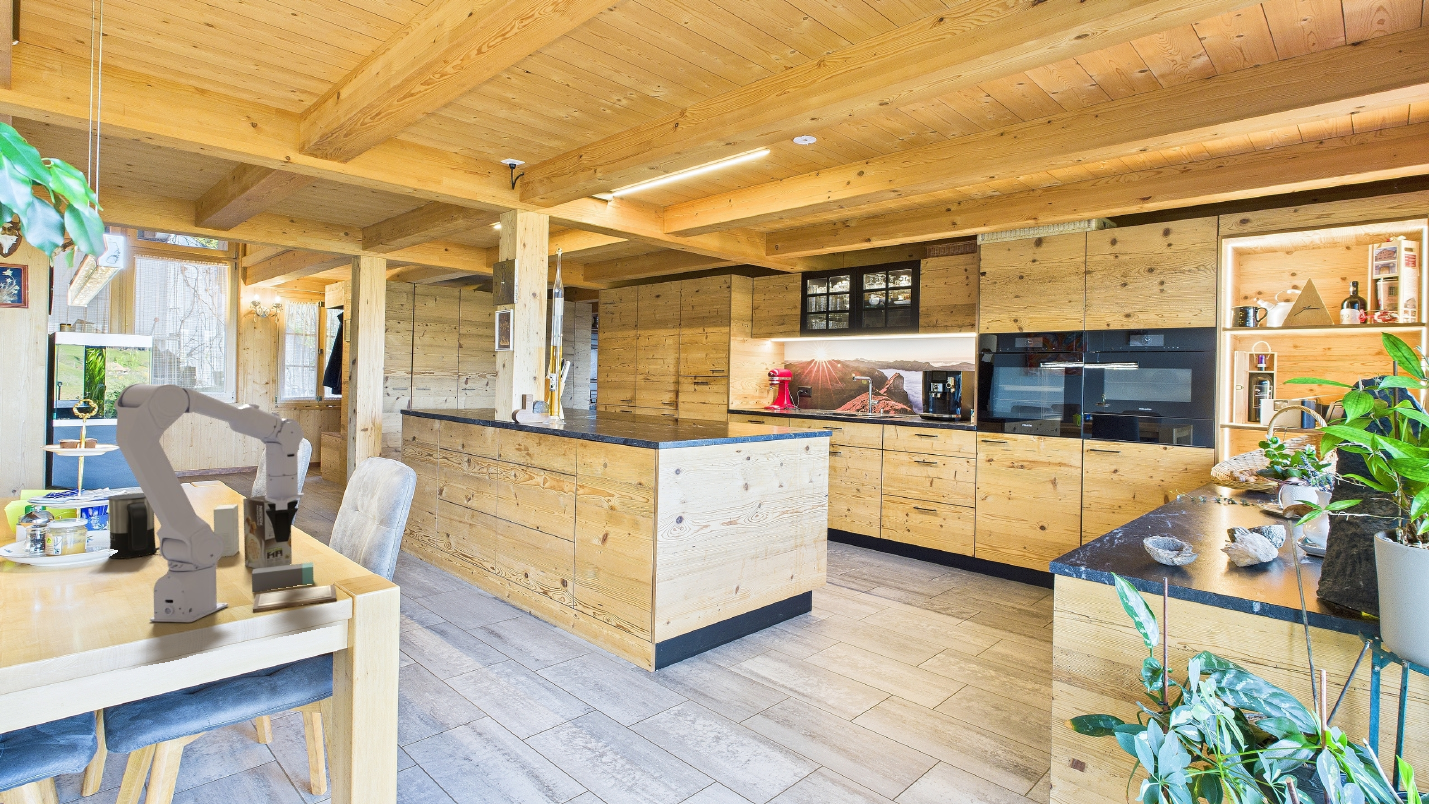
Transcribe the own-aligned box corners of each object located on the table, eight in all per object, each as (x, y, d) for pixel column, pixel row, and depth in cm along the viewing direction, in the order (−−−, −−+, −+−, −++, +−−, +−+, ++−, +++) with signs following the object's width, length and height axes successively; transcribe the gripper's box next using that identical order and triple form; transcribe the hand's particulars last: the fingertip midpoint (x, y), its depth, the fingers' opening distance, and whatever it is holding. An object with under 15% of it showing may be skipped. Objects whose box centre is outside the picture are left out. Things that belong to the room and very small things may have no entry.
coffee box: (293, 564, 165) (292, 497, 164) (265, 571, 159) (264, 502, 158) (270, 559, 169) (269, 494, 168) (242, 565, 163) (241, 498, 163)
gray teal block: (252, 592, 144) (251, 573, 144) (253, 587, 147) (253, 568, 147) (313, 585, 149) (313, 566, 149) (313, 580, 153) (313, 562, 153)
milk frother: (100, 556, 170) (98, 496, 169) (171, 542, 184) (170, 487, 184) (134, 563, 164) (133, 501, 164) (205, 548, 179) (204, 491, 178)
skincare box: (219, 551, 175) (218, 504, 175) (239, 550, 177) (238, 503, 177) (213, 557, 170) (212, 509, 169) (234, 556, 172) (233, 508, 171)
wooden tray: (252, 612, 132) (252, 607, 132) (255, 597, 141) (255, 593, 141) (336, 600, 139) (336, 596, 139) (334, 587, 148) (334, 583, 148)
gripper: (304, 477, 143) (304, 542, 144) (303, 469, 156) (304, 529, 156) (263, 480, 140) (264, 546, 140) (266, 471, 152) (267, 532, 153)
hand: (282, 537), depth 148 cm, fingers open, 7 cm apart
